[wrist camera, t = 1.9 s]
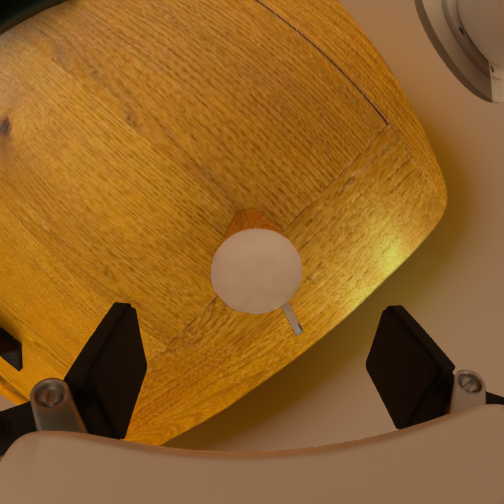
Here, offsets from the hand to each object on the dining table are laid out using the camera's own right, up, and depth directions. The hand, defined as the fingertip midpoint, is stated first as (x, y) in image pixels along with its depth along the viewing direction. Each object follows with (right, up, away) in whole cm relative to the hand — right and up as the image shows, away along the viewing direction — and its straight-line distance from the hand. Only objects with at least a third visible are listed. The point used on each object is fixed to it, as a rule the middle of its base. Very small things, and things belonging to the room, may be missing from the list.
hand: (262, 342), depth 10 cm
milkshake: (0, +5, +12) cm, 13 cm away
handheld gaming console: (-36, -7, +15) cm, 39 cm away
